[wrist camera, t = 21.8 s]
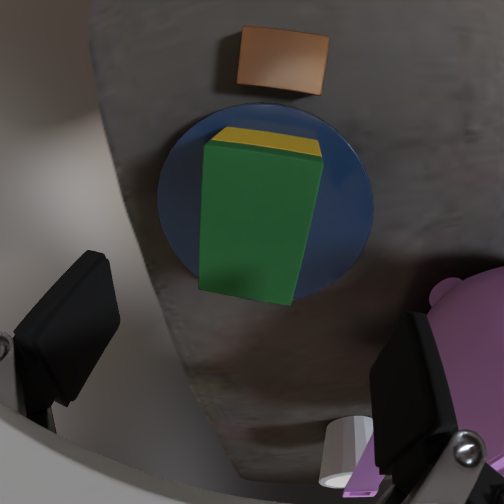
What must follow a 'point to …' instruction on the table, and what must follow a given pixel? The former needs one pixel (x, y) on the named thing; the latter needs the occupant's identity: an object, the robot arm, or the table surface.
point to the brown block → (282, 59)
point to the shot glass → (344, 449)
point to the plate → (327, 202)
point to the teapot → (462, 366)
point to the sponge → (256, 212)
